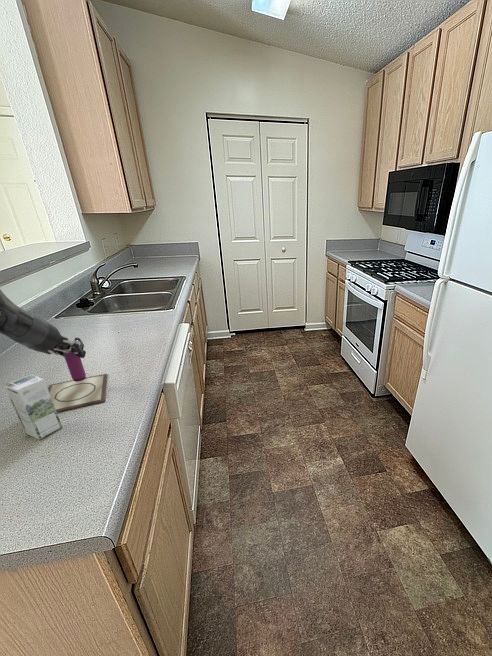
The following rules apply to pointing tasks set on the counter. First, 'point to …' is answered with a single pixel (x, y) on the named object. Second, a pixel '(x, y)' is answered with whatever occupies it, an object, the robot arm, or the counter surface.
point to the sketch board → (78, 393)
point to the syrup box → (33, 406)
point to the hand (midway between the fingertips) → (76, 354)
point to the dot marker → (75, 366)
